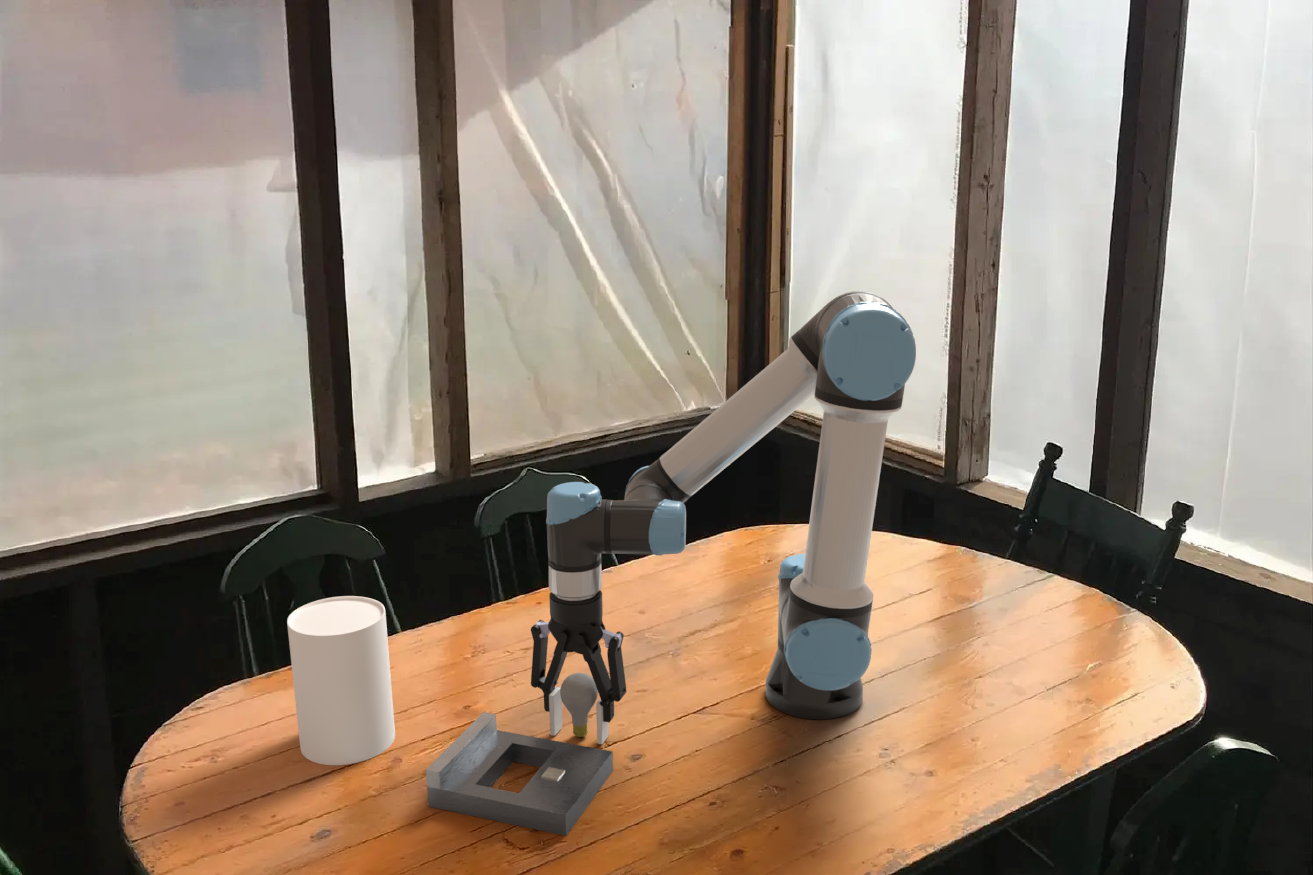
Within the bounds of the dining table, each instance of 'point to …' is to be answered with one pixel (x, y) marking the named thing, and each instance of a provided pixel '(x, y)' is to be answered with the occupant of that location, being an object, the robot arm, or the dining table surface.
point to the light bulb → (579, 700)
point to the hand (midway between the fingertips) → (579, 734)
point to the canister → (341, 679)
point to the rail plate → (546, 797)
